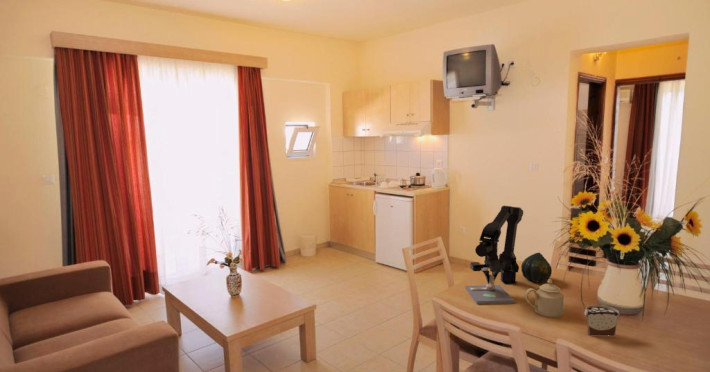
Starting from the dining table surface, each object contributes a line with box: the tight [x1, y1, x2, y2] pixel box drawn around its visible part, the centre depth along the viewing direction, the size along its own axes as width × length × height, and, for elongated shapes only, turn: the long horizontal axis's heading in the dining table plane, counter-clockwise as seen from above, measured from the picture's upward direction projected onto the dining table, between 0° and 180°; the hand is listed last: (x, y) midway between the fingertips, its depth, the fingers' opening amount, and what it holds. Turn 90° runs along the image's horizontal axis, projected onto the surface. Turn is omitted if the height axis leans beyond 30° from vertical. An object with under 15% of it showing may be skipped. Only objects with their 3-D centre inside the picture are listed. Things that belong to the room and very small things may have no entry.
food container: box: [584, 304, 621, 337], centre depth 161 cm, size 12×6×10 cm, turn 84°
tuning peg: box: [471, 273, 496, 291], centre depth 202 cm, size 12×5×7 cm, turn 90°
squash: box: [520, 252, 553, 283], centre depth 218 cm, size 14×15×15 cm
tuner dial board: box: [465, 284, 515, 305], centre depth 200 cm, size 17×19×2 cm
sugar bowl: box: [524, 278, 565, 318], centre depth 178 cm, size 15×11×15 cm
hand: (490, 283), depth 203 cm, fingers closed on tuning peg, 2 cm apart
